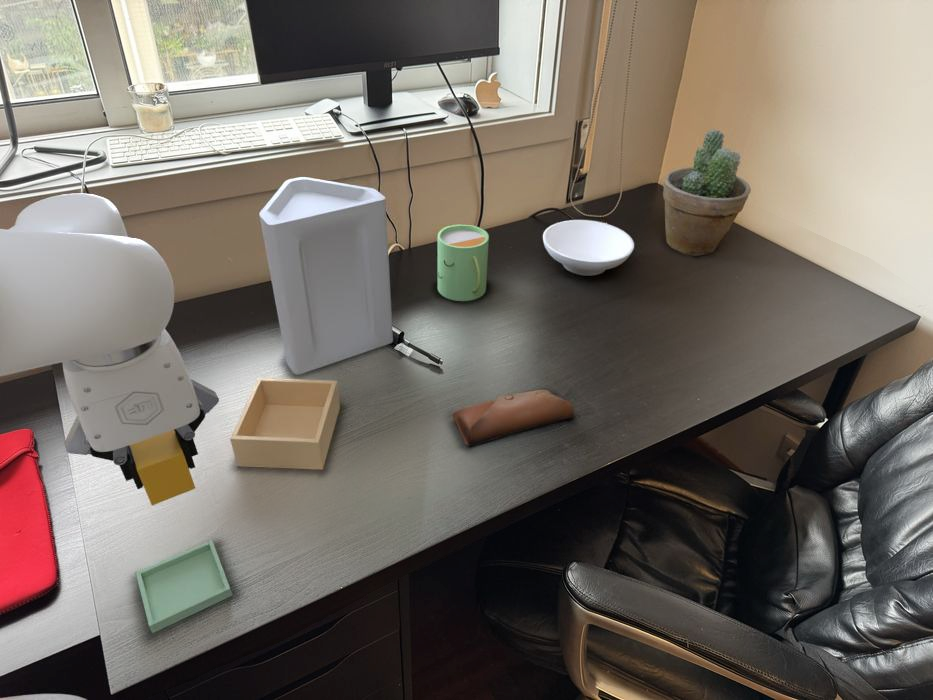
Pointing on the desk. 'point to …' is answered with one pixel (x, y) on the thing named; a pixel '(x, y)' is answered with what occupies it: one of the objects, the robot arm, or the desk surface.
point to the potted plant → (703, 198)
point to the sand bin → (286, 424)
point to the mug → (462, 262)
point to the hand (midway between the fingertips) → (163, 468)
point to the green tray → (182, 585)
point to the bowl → (587, 246)
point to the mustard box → (162, 467)
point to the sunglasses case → (510, 415)
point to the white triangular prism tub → (328, 270)
